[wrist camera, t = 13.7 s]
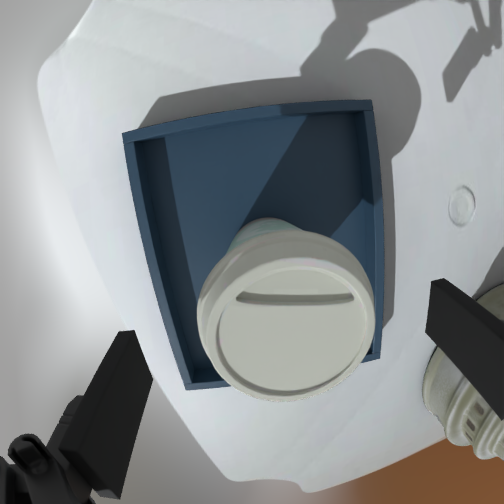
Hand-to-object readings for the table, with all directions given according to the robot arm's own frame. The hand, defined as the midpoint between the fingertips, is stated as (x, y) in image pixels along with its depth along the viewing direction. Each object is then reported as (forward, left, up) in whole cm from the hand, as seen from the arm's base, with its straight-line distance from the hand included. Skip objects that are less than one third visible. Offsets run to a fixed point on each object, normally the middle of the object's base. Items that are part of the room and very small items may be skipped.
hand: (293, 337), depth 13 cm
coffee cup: (0, 0, -12) cm, 12 cm away
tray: (0, 0, -13) cm, 13 cm away
